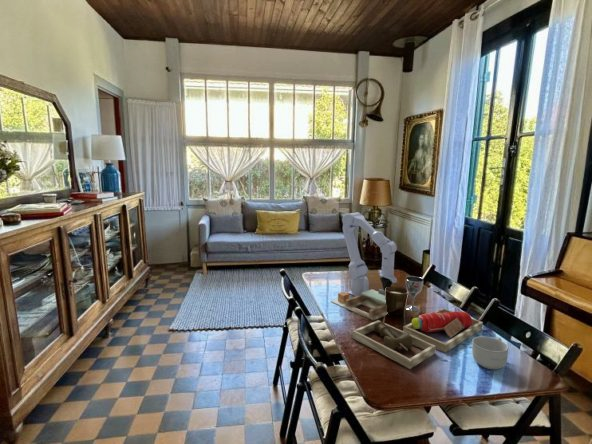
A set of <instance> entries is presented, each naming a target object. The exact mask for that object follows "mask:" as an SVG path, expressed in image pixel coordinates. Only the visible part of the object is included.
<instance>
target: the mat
mask: <svg viewBox="0 0 592 444" xmlns="http://www.w3.org/2000/svg"><path fill="white" fill-rule="evenodd" d="M350 298H351V297H349V299H350ZM330 302H331V303H332V304H335V305H337V306H339V307H342V308H345V307H344V305H345V303H342V302H339V301H338V298H336V299H333V300H330Z"/></svg>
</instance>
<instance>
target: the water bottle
mask: <svg viewBox="0 0 592 444" xmlns="http://www.w3.org/2000/svg"><path fill="white" fill-rule="evenodd" d="M472 318H473V317H472V316H471V315H470V313H468V312H466V311H463V310H455V311H453V312H448V313H433V312H428V313H422V314H419V315H418V316H417V317H414V318H412V319H411V323H412V326H413V328H414V329H415V330H420V332H422V333H423V332H424V333H438V332H441V331H442V332H443V331H444V332H445V334H446V335H447V336H448V338H449V339H450V338H451V339H452V338H453V336H454V337H455V335H456V334H458V333H459V332H460V331H465V330H467V329H469V328H470V327H472V326H471V325H472Z"/></svg>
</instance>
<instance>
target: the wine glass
mask: <svg viewBox="0 0 592 444" xmlns="http://www.w3.org/2000/svg"><path fill="white" fill-rule="evenodd" d="M423 286H424V278H422V277H420V276H415V275H410V276H406V277H405V287H406V291H407V292H408V293H409V295H410V297H411V305H410V304H409V305H405V306H406V307H405V306H404V309H405V310H407V311H409V312H420V311H421V308H420V307H418V306H417V305H415V303H414V302H415V298H416V296H417V295H418V294H420V293H421V291H422V290H423Z"/></svg>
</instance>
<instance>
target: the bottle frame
mask: <svg viewBox="0 0 592 444" xmlns="http://www.w3.org/2000/svg"><path fill="white" fill-rule="evenodd" d="M448 312H454V311H453V310H450V309H446V308H444V307H441V308H439V309H437V310H435V311H434V312H433V311H432V313H448ZM471 318H472V325H471V327H470V328H468V329H465V330H463V331H462V332H460V333H459V334H457V335H456V336H454V337H451V339H449V340H447V341H446V342H443V341H441V340H438V339H436V338H433V337H431V336H430V335H429V336H428V335H426V334H425V333H423V332H421V331H420V332H419V331H418V330H416V329H414V328H413V326H412V322H410V323H408V324H406V325H403V327H402V328H403V329H402V331H404V332H407V333H408V334H410V335H413V336H415V337H417V338H419V339H422V340H424V341H426V342H428V343H430V344H433V345H435V346H436V348H435V350H439V351H441V352H443V353H447V352H448V351H450V350H451V349H453V348H455V347H457V346H458V345H459V344H461V343H462V342H465V340H468V338H470V337H472V336H473V335H475V334H476V333H478V332H479V331H481V330H483V326H484V325H483V324H484V322H483V321H481V320H479V319H476V318H473V317H471Z"/></svg>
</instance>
